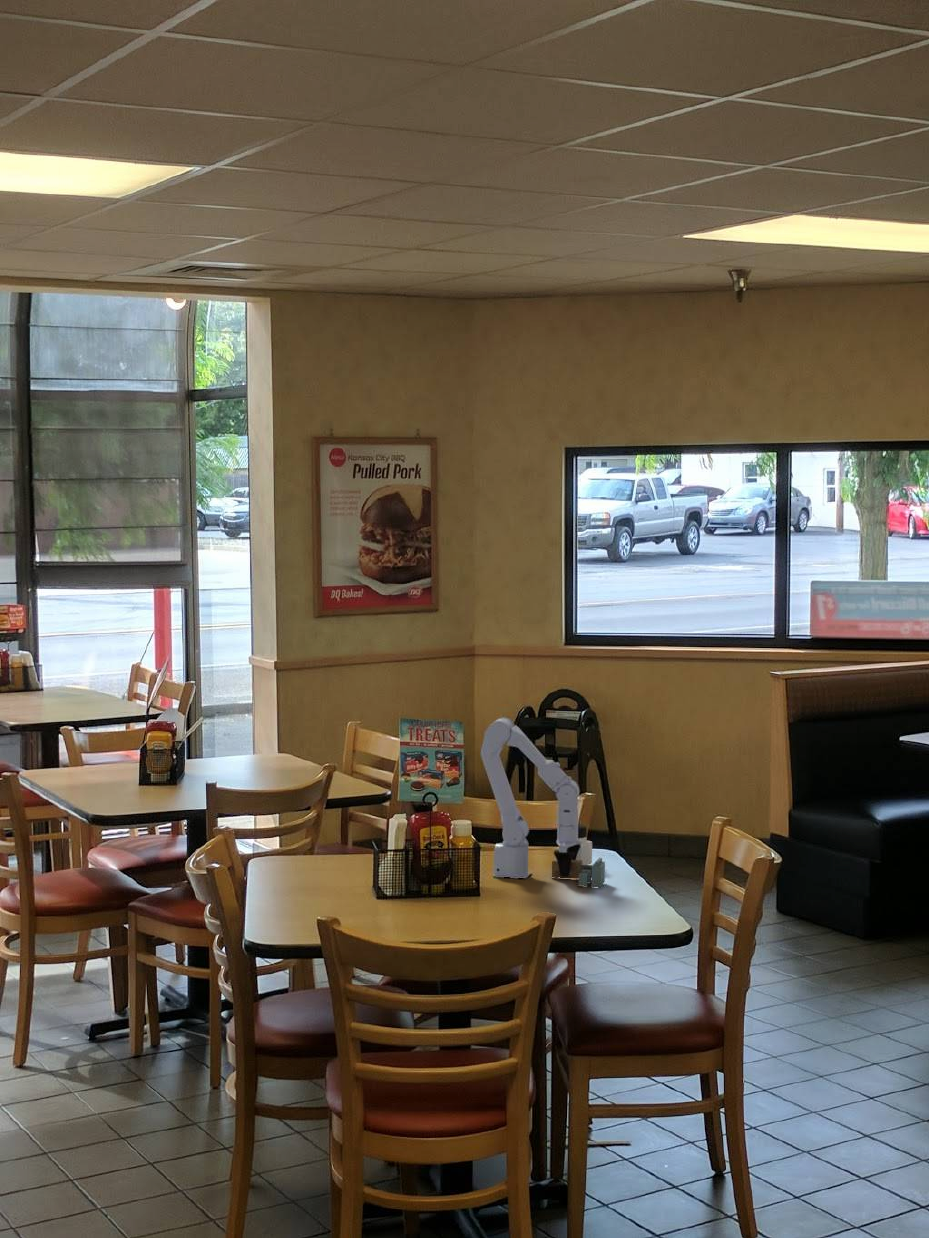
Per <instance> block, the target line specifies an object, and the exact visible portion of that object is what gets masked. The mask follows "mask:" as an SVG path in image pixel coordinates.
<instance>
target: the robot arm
mask: <svg viewBox="0 0 929 1238" xmlns="http://www.w3.org/2000/svg"><path fill="white" fill-rule="evenodd" d="M483 736H484V738H483V740H482V744H481V749H480V757H481V760H482V764H483V766H484V769H485V772H486V776H487V778H488V780H489V783H490V786H491V791H492V793H493V795H494V799H495V801H496V805H497V807H498V810H499V812H500V821H501V826H502V833H501V835H502V839H503V841H502V842H499V843H497V842H496V844H495V846H494V851H493V875H492V877H493V876H495V877H494V878H504V877H510V878H509V879H518V878H527V877H528V876H529V875H530V873H529V874H528V871H529V848H530V847H529V845H530V844H529V841H528V840H527V838H526V837H527V836H528V835H529V832H530V826H529V823H528V821H527V820H525V818H524V817H523V815H522V812H521V810H520V809H519V808H518V806H517V803H516V800H515V796H514V794H513V791H512V788H511V785H510V782H509V779H508V777H507V774H506V771H505V768H504V764H503V762H502V758H501V756H500V754H501V752H502V749H503V748H504V746H505V744H506V743H507V744H506V746H509V747H515V748H518V749H519V750H520V751H521V752H522V753H523V754H524V755H525V756H526V757H527V758H528V759H529V760H530V761H531V762H532V763H533V764H534V765H535V766H536V768H537V775H538V776H539V777H540V778H541V780H543V781H544V783H545V784H546V785H547V786H548V787H549V788H550V789H551V790H552V791H553V792H555V795H556V799H557V801H558V806H557V832H556V834H557V835H556V836H557V837H556V838H557V839H556V844H557V845H558V849H554V851H553V855H554V857H555V859H557V862H558V866H559V871H560V875H561V876H564V877H568V876H569V872H570V865H571V861H572V860H576V857H577V854H578V851H579V849H580V847H581V845H580V844H582V841H581V840H578V824H579V807H578V806H579V799H578V797H579V795H580V787H579V785H578V783H577V781H576V780H573V779H572V777H571V776H570V775H569V776H568V775H567V774H566V773H565V772H564V771H563V770H562V768H561V767H560V766H561V764H560V762H558V761H557V762H555V760H553V759H546V757H545V756H544V755H543V754H542V753H541V751H539V750H538V748H537V747H536V746H535V745H534V744H533V741H531V740H530V738H528V736H527V735H526V734H525V733H524V732H523V731H522V730H521V728H520V727H519V726H517V724H514V722H513V721H512V720H511V719H510V718H507V717H500V718H497V719H495V721H493V722H492V723H490V725H489V726H488V727H487V729H486V730H485V731H484V735H483ZM530 876H531V875H530ZM530 876H529V877H530ZM515 877H517V878H515ZM529 877H528V878H529ZM528 878H527V879H528Z"/></svg>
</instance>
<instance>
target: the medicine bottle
mask: <svg viewBox="0 0 929 1238" xmlns="http://www.w3.org/2000/svg"><path fill="white" fill-rule="evenodd" d="M587 829H588V828H587V826H585V825H584V824H579V823H578V840H581V841H582V844H580V845H581V847H580V849H579V851H578V854H577V857H576V860H582V865H588V864H591V863H592V864H593V841H590V840H587V832H588V831H587Z"/></svg>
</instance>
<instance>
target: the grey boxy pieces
mask: <svg viewBox="0 0 929 1238" xmlns="http://www.w3.org/2000/svg"><path fill="white" fill-rule="evenodd" d="M605 874H606V861H603V857H598V859H597V860H595V862H594V863H592V881H591V870H582V871H581V873H579V881H578V885H584V886H587V885H588V886H589V884H588V882H590V881H591V888H592V887H598V888H601V887H602V888H603V886H604V885H603V883H604V882H605V883H606V881H605V880H606V878H605V877H606V875H605ZM602 885H603V886H602ZM602 888H601V889H602Z"/></svg>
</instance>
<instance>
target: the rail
mask: <svg viewBox="0 0 929 1238" xmlns="http://www.w3.org/2000/svg"><path fill="white" fill-rule="evenodd" d="M592 866H593V864H592V865H582V860H572V861H571V865H570V872H569V876H568V877H564V876H561V875H560V871H559V866H558V862H557V859H556V858H554V859H552V860H551V878H552V877H555V878H558V877H560V878H579V873H581V871H582V870H591V878H592Z"/></svg>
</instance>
